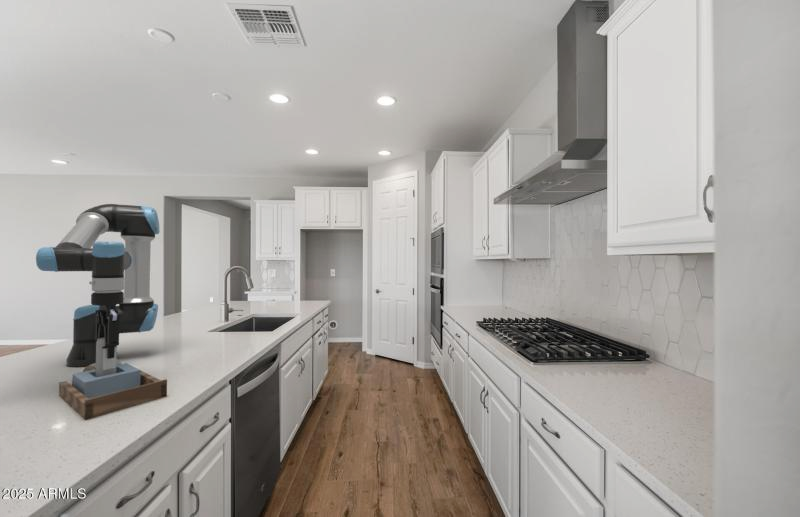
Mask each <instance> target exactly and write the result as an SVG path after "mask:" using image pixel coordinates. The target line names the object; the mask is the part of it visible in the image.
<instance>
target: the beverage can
mask: <svg viewBox="0 0 800 517" xmlns="http://www.w3.org/2000/svg"><path fill="white" fill-rule="evenodd" d="M104 346H105V337H104V338H99V339H97V342H96V377H101V376H105V375H110V374H115V373H116V365H115V368H111V369H107V370H103V354H104V349H102V347H104ZM117 359H118V346H116V360H117Z"/></svg>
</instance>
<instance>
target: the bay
mask: <svg viewBox="0 0 800 517" xmlns="http://www.w3.org/2000/svg"><path fill="white" fill-rule="evenodd" d="M58 383H59V384H58V396H59V397H60V398H61V399H62V400H63V401H64V402H65V403H66V404H68V406H69V407H70V408H72V409H73V411H75V412H76V413H77V414H78V415H79V416H80V417H81V418H83V419H84V420H85V421H87V420H90V419H93V418H97V417H100V416H103V415H107V414H110V413H114V412H118V411H121V410H124V409H128V408H131V407H134V406H138V405H142V404H145V403H149V402H151V401H154V400H159V399H162V398H166V397H167V394H168V379H162V380H161V379H159V378H157V377H156V376H152V374H149V373H147V372H145V371H142V370H141V372H140V386H137V387H133V388H129V389H125V390H121V391H117V392H114V393H110V394H106V395H102V396H98V397H94V398H90V399H88V398H87V397H86V396H84V395H83V394H82V393H81V392H79V391H78V390H77V389H76V388H74V387H73V386H72V383H70V382H68V381H67V380H66V381H61V382H58Z"/></svg>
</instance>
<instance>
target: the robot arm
mask: <svg viewBox="0 0 800 517" xmlns="http://www.w3.org/2000/svg"><path fill="white" fill-rule="evenodd" d="M159 222H160V221H159V215H158V213H157V210H156V209H155V208H154V207H149V206H144V205H132V204H131V205H130V204H117V203H105V204H101V205H96V206H93V207H91V208H88V209H86V210H84V211H83V212H81V213H79V215H78V216H77V218H76V220H75V225H74V226H73V227H71V229H70V230H69V231H68V232H67V233H66V235H65V236H64V237H63V238H62V240H61V241H60V242H59V243H58V244H57V245H56V246H47V247H45V246H44V247H41V248H39V249H38V250H37V252H36V256H35V261H36V262H35V263H36V266H37V268H38V269H39V271H43V272H55V273H58V272H91V281H89V282H88V283H89V285H91V291H92V293H91V295H90V296H91V297H90V298H91V299H90V304H88V305H83V306H79V307H77V308H76V309H75V310H74V313H73V314H74V315H73V319H72V320H73V330H72V332H73V339H72V342H73V343H72V347H71V349H70V351H69V353H68V355H67V358H66V361H65V362H66V364H65V365H66V366H67V367H70V366H72V367H71V368H74V367H77V368H79V367H80V366H83V367H87V366H89V365H91V364H94V363H96V342H97V339H99V338H104V337H105V346H104V347H102V349H104V354H103V370H107V369H111V368H115V365H116V346H117V347H118V346H120V334H129V333H130V334H132V333H144V332H150V331H152V330H153V329H154V328H155V324H156V321H157V315H158V311H159V310H158V309H159V308H158V307H159V305H158V304H156V303H155V300H154V299H153V298H152V297H151V296H150V292H151V291H150V289H151V287H150V284H151V247H152V246H151V242H152V241H153V240H155V239H156V235H159V234H160V233H161V232H160V223H159ZM107 232H110V233H120V238H122V240H124V242H120V241H119V242H118V241H97V240H98V239H99V237H100V236H102V235H103V234H105V233H107Z"/></svg>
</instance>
